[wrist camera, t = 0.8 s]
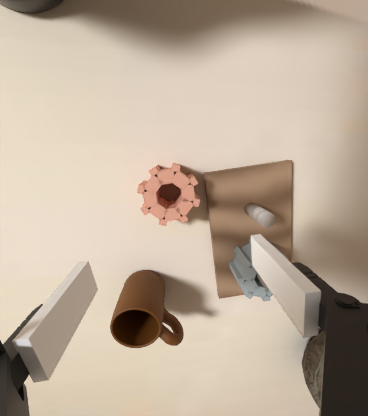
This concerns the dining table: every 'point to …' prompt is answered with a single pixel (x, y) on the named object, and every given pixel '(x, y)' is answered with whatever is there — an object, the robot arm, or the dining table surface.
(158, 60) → the dining table surface
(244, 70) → the dining table surface
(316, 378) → the vase
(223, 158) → the dining table surface
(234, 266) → the gear
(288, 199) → the gear board
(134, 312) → the mug
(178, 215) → the gear
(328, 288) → the robot arm
